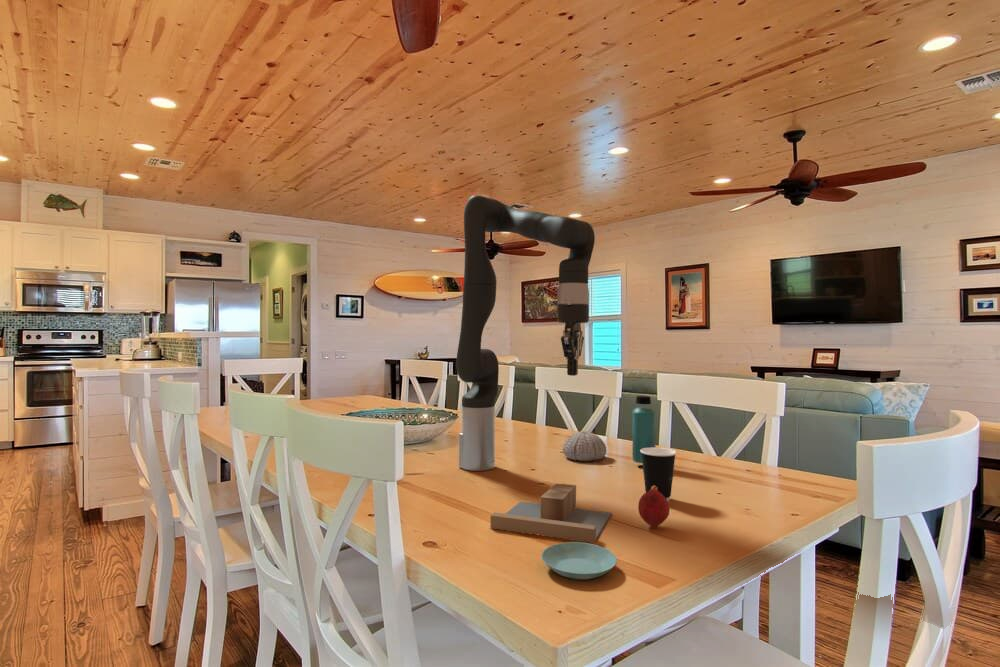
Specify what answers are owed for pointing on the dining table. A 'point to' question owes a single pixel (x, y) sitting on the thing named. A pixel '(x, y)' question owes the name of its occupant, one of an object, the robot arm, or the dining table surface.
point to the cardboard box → (558, 502)
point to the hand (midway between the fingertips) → (572, 375)
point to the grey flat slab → (552, 522)
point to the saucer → (579, 560)
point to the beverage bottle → (643, 428)
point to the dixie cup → (658, 469)
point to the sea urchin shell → (584, 447)
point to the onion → (653, 507)
